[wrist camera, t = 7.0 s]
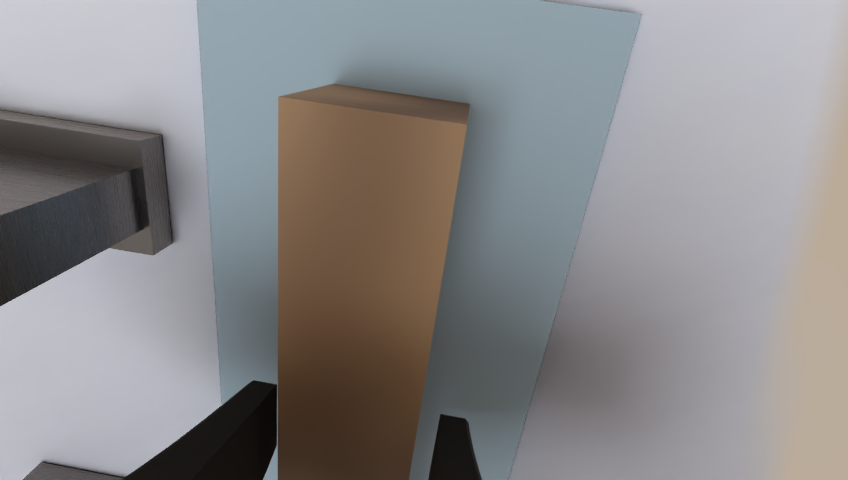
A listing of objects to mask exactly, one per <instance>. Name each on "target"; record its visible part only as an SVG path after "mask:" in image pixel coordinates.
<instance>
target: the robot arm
mask: <svg viewBox="0 0 848 480" xmlns="http://www.w3.org/2000/svg"><path fill="white" fill-rule="evenodd" d="M276 446H277V384H272V383H266V382H261V381H255V380H253V381H251V382H250V383H248V384H247V385H246V386H245V387H244V388H242V389H241V390H240V391H239V392H237V393H236V394H235V395H234V396H233V397H231V398H230V399H229V400H228V401H226V402H225V403H224V404H223V405H222V406H220V407H219V408H218V409H217V410H215V411H214V412H213V413H212V414H210V415H209V416H208V417H207V418H205V419H204V420H203V421H202V422H200V423H199V424H198V425H196V426H195V427H194V428H193V429H191V430H190V431H189V432H187V433H186V434H185V435H183V436H182V437H181V438H180V439H178V440H177V441H176V442H174V443H173V444H172V445H170V446H169V447H168V448H166V449H165V450H163V451H162V452H160V453H159V454H158V455H156V456H155V457H153V458H152V459H151V460H149V461H148V462H146V463H145V464H144V465H142V466H141V467H139V468H138V469H137V470H135V471H134V472H132V473H131V474H129V475H128V476H126V477H125V478H123V479H122V480H263V478H264V476H265V474H266V471H267V469H268V466H269V464H270V461H271V459H272V456H273V454H274V451H275V449H276ZM428 480H482V478H481V474H480V471H479V468H478V464H477V460H476V457H475V453H474V449H473V444H472V440H471V434H470V429H469V423H468V421H467V420H466V419H465V418H460V417H454V416H449V415H443V414H440V419H439V424H438V429H437V434H436V440H435V445H434V450H433V456H432V461H431V466H430V472H429V479H428Z"/></svg>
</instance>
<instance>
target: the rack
mask: <svg viewBox="0 0 848 480" xmlns="http://www.w3.org/2000/svg"><path fill="white" fill-rule="evenodd" d="M171 244H172V236H171V226H170V216H169V206H168V196H167V186H166V176H165V166H164V156H163V146H162V136H161V135H158V134H151V133H145V132H138V131H132V130H125V129H119V128H113V127H106V126H100V125H93V124H87V123H80V122H74V121H68V120H61V119H55V118H48V117H42V116H35V115H29V114H23V113H16V112H10V111H3V110H0V306H2V305H3V304H5V303H7V302H9V301H11V300H13V299H15V298H16V297H18V296H20V295H22V294H24V293H26V292H28V291H29V290H31V289H33V288H35V287H37V286H39V285H41V284H42V283H44V282H46V281H48V280H50V279H52V278H54V277H55V276H57V275H59V274H61V273H63V272H65V271H67V270H69V269H70V268H72V267H74V266H76V265H78V264H80V263H82V262H83V261H85V260H87V259H89V258H91V257H93V256H95V255H96V254H98V253H100V252H102V251H104V250H106V249H108V248H113V249H119V250H124V251H130V252H136V253H142V254H148V255H155V254H156V253H158V252H159V251H161V250H163V249H164V248H166V247H167V246H169V245H171ZM122 479H123V478H120V477H115V476H110V475H104V474H99V473H94V472H89V471H84V470H79V469H74V468H68V467H63V466H58V465H53V464H48V463H43V462H41V463H40V464H39V465H38V466H37V467H36V468H35V469H33V470H32V471H31V472H30V473H29V474H28V475H27V476H26V477H25V478H24V479H23V480H122Z"/></svg>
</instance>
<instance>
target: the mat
mask: <svg viewBox="0 0 848 480" xmlns="http://www.w3.org/2000/svg"><path fill="white" fill-rule="evenodd" d="M197 13H198V29H199V45H200V61H201V78H202V94H203V110H204V126H205V143H206V159H207V175H208V191H209V207H210V224H211V240H212V256H213V272H214V288H215V305H216V321H217V337H218V353H219V369H220V386H221V402H222V405H223V404H224V403H225V402H226V401H228V400H229V399H230V398H231V397H233V396H234V395H235V394H236V393H237V392H239V391H240V390H241V389H242V388H244V387H245V386H246V385H247V384H248V383H250V382H251V381H253V380H255V381H261V382H266V383H272V384H277V446H276V449H275V451H274V454H273V456H272V459H271V461H270V464H269V466H268V469H267V471H266V474H265V476H264V478H263V480H278V97H279V96H283V95H287V94H292V93H296V92H300V91H304V90H309V89H313V88H317V87H321V86H326V85H330V84H339V85H346V86H353V87H359V88H366V89H373V90H380V91H387V92H393V93H400V94H407V95H414V96H421V97H427V98H434V99H441V100H448V101H455V102H461V103H468V104H470V108H469V115H468V123H467V129H466V135H465V142H464V148H463V154H462V160H461V166H460V172H459V178H458V184H457V190H456V196H455V202H454V208H453V215H452V221H451V227H450V233H449V239H448V245H447V251H446V257H445V263H444V269H443V275H442V281H441V288H440V294H439V300H438V306H437V312H436V318H435V324H434V330H433V336H432V342H431V348H430V354H429V360H428V367H427V373H426V379H425V385H424V391H423V397H422V403H421V409H420V415H419V421H418V427H417V433H416V440H415V446H414V452H413V458H412V464H411V470H410V476H409V480H428V479H429V472H430V466H431V461H432V456H433V450H434V445H435V440H436V434H437V429H438V424H439V419H440V414H443V415H449V416H454V417H460V418H465V419H466V420H467V421H468V423H469V429H470V434H471V440H472V444H473V449H474V453H475V457H476V460H477V464H478V468H479V471H480V474H481V478H482V480H508V478H509V475H510V472H511V468H512V465H513V461H514V458H515V454H516V451H517V447H518V444H519V440H520V437H521V433H522V430H523V426H524V423H525V419H526V416H527V412H528V409H529V405H530V402H531V398H532V395H533V392H534V388H535V385H536V381H537V378H538V374H539V371H540V367H541V364H542V360H543V357H544V353H545V350H546V346H547V343H548V339H549V336H550V332H551V329H552V325H553V322H554V318H555V315H556V311H557V308H558V305H559V301H560V298H561V294H562V291H563V287H564V284H565V280H566V277H567V273H568V270H569V266H570V263H571V259H572V256H573V252H574V249H575V245H576V242H577V238H578V235H579V231H580V228H581V225H582V221H583V218H584V214H585V211H586V207H587V204H588V200H589V197H590V193H591V190H592V186H593V183H594V179H595V176H596V172H597V169H598V165H599V162H600V158H601V155H602V151H603V148H604V145H605V141H606V138H607V134H608V131H609V127H610V124H611V120H612V117H613V113H614V110H615V106H616V103H617V99H618V96H619V92H620V89H621V85H622V82H623V78H624V75H625V71H626V68H627V65H628V61H629V58H630V54H631V51H632V47H633V44H634V40H635V37H636V33H637V30H638V26H639V23H640V19H641V16H642V14H637V13H630V12H622V11H615V10H607V9H600V8H593V7H585V6H578V5H570V4H563V3H556V2H548V1H541V0H197Z"/></svg>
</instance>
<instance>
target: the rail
mask: <svg viewBox="0 0 848 480" xmlns="http://www.w3.org/2000/svg"><path fill="white" fill-rule="evenodd" d="M469 108H470V104H468V103H461V102H455V101H448V100H441V99H434V98H427V97H421V96H414V95H407V94H400V93H393V92H387V91H380V90H373V89H366V88H359V87H353V86H346V85H339V84H330V85H326V86H321V87H317V88H313V89H309V90H304V91H300V92H296V93H292V94H287V95H283V96H279V97H278V480H409V476H410V470H411V464H412V458H413V452H414V446H415V440H416V433H417V427H418V421H419V415H420V409H421V403H422V397H423V391H424V385H425V379H426V373H427V367H428V360H429V354H430V348H431V342H432V336H433V330H434V324H435V318H436V312H437V306H438V300H439V294H440V288H441V281H442V275H443V269H444V263H445V257H446V251H447V245H448V239H449V233H450V227H451V221H452V215H453V208H454V202H455V196H456V190H457V184H458V178H459V172H460V166H461V160H462V154H463V148H464V142H465V135H466V129H467V123H468V115H469Z"/></svg>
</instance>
